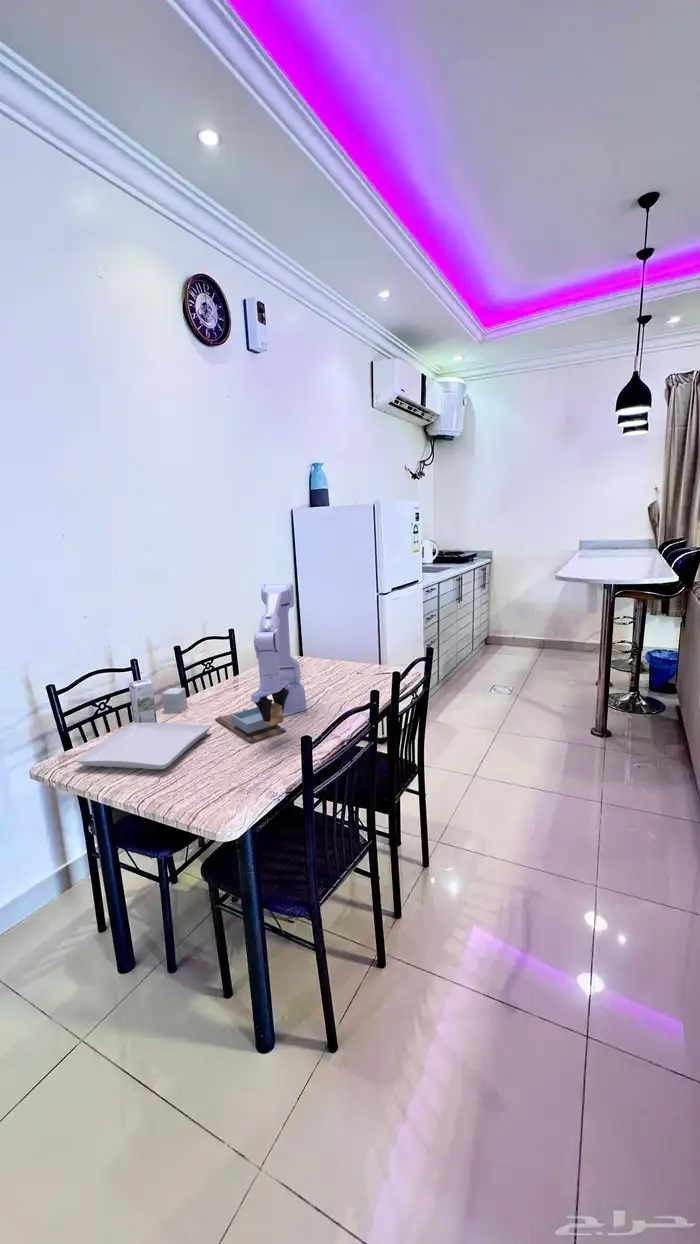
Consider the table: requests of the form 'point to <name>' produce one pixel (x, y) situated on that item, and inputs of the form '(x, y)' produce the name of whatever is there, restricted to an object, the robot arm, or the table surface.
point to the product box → (174, 700)
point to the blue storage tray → (249, 720)
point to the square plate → (145, 745)
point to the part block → (275, 714)
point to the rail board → (254, 735)
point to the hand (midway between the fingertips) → (273, 717)
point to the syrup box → (142, 701)
